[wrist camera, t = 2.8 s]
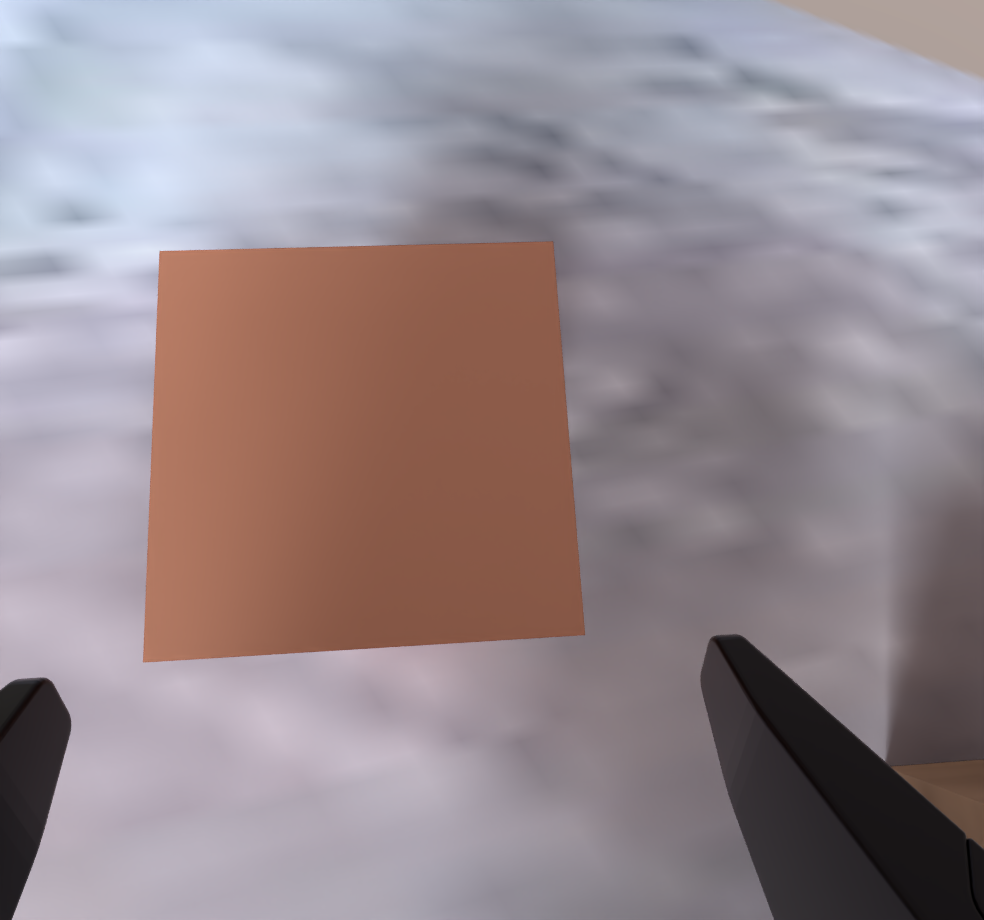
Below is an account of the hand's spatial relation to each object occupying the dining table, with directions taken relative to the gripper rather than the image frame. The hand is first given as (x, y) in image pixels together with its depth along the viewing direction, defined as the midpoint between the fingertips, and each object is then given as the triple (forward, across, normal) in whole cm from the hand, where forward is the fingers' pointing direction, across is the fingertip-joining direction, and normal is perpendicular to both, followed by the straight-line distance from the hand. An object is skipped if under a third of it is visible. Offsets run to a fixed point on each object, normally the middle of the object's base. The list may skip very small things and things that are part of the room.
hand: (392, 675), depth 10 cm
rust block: (+9, 0, +5) cm, 10 cm away
